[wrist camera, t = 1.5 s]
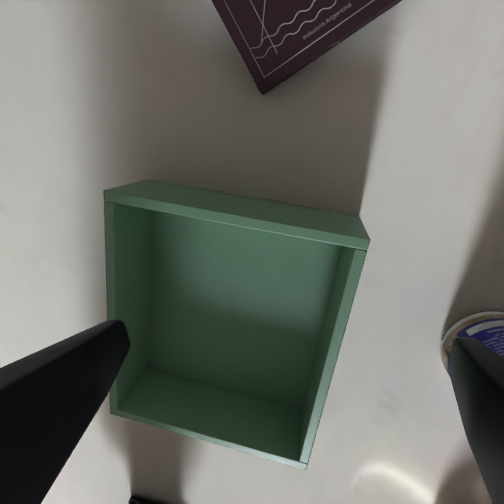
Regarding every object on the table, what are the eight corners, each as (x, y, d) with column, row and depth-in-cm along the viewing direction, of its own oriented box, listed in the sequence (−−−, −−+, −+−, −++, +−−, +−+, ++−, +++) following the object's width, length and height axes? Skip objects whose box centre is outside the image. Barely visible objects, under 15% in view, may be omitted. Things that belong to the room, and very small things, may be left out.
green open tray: (308, 411, 26) (306, 470, 21) (144, 368, 28) (109, 413, 23) (359, 216, 20) (370, 239, 16) (148, 179, 22) (102, 190, 18)
